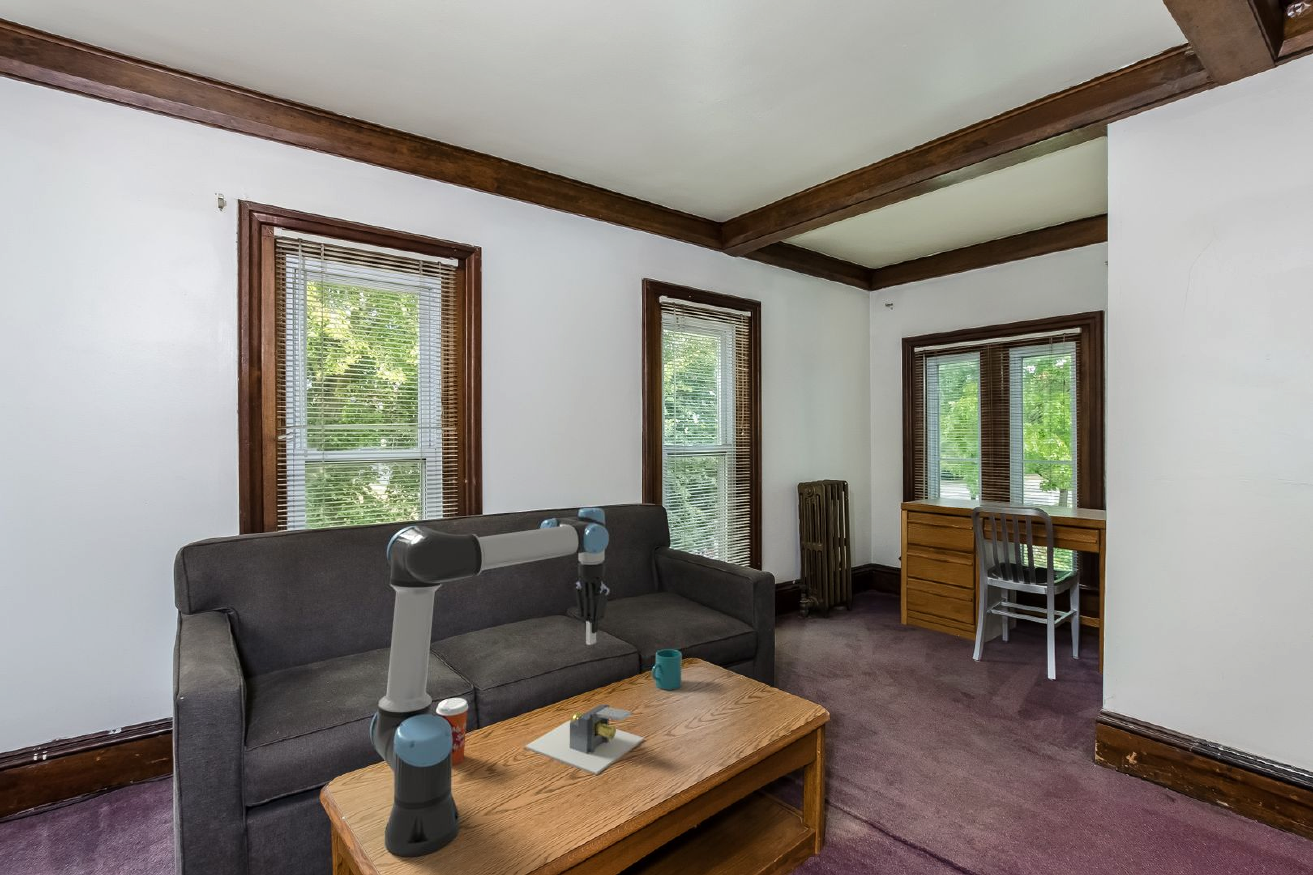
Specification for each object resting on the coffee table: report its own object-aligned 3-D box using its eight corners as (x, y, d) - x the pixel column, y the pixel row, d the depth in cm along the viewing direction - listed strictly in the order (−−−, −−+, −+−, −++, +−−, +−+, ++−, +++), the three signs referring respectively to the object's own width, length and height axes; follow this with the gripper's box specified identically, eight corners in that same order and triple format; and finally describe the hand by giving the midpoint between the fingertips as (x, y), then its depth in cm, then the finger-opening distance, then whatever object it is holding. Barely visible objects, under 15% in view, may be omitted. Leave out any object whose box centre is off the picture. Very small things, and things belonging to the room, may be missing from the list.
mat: (596, 774, 156) (596, 772, 156) (525, 748, 170) (525, 745, 170) (643, 739, 175) (643, 737, 175) (576, 718, 188) (576, 716, 188)
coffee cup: (458, 769, 159) (458, 711, 159) (429, 765, 160) (429, 708, 160) (474, 753, 167) (474, 698, 167) (446, 749, 169) (447, 695, 169)
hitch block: (569, 747, 169) (569, 710, 169) (592, 733, 177) (592, 697, 177) (589, 754, 165) (589, 716, 165) (611, 739, 174) (611, 703, 174)
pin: (569, 733, 172) (570, 715, 172) (581, 726, 176) (581, 708, 177) (606, 746, 165) (606, 727, 165) (618, 738, 170) (618, 719, 170)
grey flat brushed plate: (595, 713, 167) (620, 717, 163) (606, 706, 172) (631, 711, 167) (595, 716, 167) (620, 721, 163) (606, 709, 172) (631, 714, 167)
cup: (643, 686, 213) (644, 654, 213) (669, 678, 221) (669, 647, 221) (660, 695, 206) (660, 661, 206) (686, 686, 214) (686, 654, 214)
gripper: (617, 562, 177) (616, 644, 176) (583, 557, 184) (582, 635, 184) (600, 566, 170) (600, 651, 170) (566, 561, 178) (565, 642, 178)
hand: (591, 643), depth 177 cm, fingers closed
